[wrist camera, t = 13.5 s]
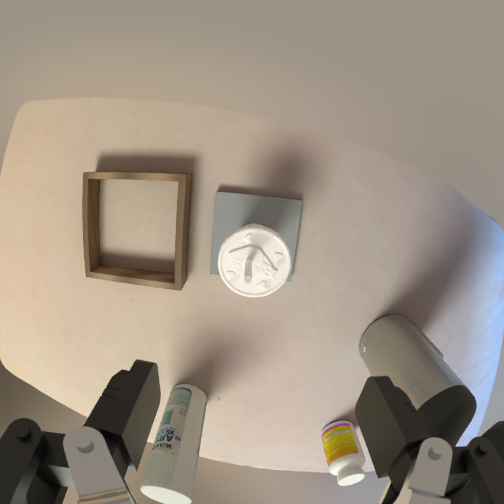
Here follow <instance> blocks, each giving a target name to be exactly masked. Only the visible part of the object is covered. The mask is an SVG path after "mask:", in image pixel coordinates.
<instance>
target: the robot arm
mask: <svg viewBox="0 0 504 504" xmlns="http://www.w3.org/2000/svg"><path fill="white" fill-rule="evenodd" d="M359 351H360V355H361V357H362V358H363V360H364V362H365V364H366V366H367V368H368V370H369V372H370V373H371V375H372V377H369V378H368V379H367V381H366V383H365V386H364V388H363V390H362V392H361V395H360V397H359V399H358V401H357V404H356V408H355V414H356V418H357V421H358V424H359V426H360V429H361V432H362V434H363V437H364V440H365V443H366V445H367V448H368V451H369V454H370V457H371V459H372V462H373V465H374V468H375V471H376V474H377V476H378V478H382V477H386V476H389V477H390V481H389V482H388V484H387V486H386V488H385V490H384V492H383V494H382V497H381V499H380V501H379V503H378V504H504V421H499V422H498V423H496V424H495V425H493V426H492V427H491V428H490V429H489V430H488V431H486V432H485V433H484V434H483V435H482V436H481V437H475V438H473V439H472V440H471V441H470V443H469V444H468V445H467V446H465V447H455V446H456V444H457V442H458V440H459V439H460V437H461V436H462V434H463V433H464V431H465V430H466V428H467V427H468V425H469V424H470V422H471V420H472V419H473V416H474V414H475V411H476V406H477V405H476V400H475V397H474V396H473V394H472V393H471V392H470V391H469V389H468V388H467V387H466V386H465V385H464V383H463V382H462V381H461V380H460V379H459V377H458V376H457V375H456V374H455V373H454V372H453V371H452V369H451V368H450V367H449V366H448V365H447V364H446V362H445V361H444V360H443V354H442V353H441V352H440V350H439V349H438V348H437V347H436V346H435V345H434V344H433V343H432V342H431V341H430V340H429V338H428V337H427V336H426V335H425V334H424V333H423V332H422V331H421V330H420V329H419V328H418V327H417V326H416V325H415V324H414V323H410V322H409V321H408V320H407V319H406V318H405V317H403V316H401V315H394V314H392V315H387V316H384V317H382V318H380V319H378V320H377V321H375V322H374V323H373V324H371V325H370V326H369V327H368V329H367V330H366V331H365V333H364V334H363V336H362V338H361V340H360V345H359ZM160 397H161V392H160V384H159V375H158V367H157V364H156V363H154V362H148V361H143V360H138V359H137V360H136V361H135V362H134V364H133V366H132V367H131V369H130V371H127V370H123V369H122V370H121V371H119V372H118V373H117V374H115V375H114V376H112V378H111V380H110V381H109V383H108V385H107V388H105V390H104V391H103V393H102V396H100V398H99V400H98V402H97V403H96V405H95V407H94V408H93V410H92V412H91V414H90V415H89V417H88V419H87V421H86V423H85V424H84V425H83V426H82V427H76V428H73V429H71V430H70V431H69V432H67V434H60V433H52V432H45V431H41V429H40V427H39V426H38V424H37V423H36V422H34V421H33V420H31V419H27V418H21V419H17V420H15V421H13V422H12V423H11V424H10V425H9V426H8V428H7V429H6V431H5V433H4V434H3V436H2V437H1V439H0V504H62V503H63V500H64V497H65V494H66V492H67V489H68V487H72V488H76V490H77V493H78V496H79V501H78V502H77V503H78V504H137V502H136V500H135V498H134V497H133V495H132V493H131V491H130V489H129V487H128V485H127V483H126V481H125V479H124V477H125V474H126V471H127V469H129V470H132V471H136V472H137V469H138V466H139V463H140V460H141V457H142V454H143V451H144V448H145V445H146V442H147V439H148V436H149V433H150V430H151V427H152V425H153V422H154V419H155V416H156V413H157V410H158V407H159V404H160Z"/></svg>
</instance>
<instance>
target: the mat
mask: <svg viewBox="0 0 504 504" xmlns="http://www.w3.org/2000/svg"><path fill="white" fill-rule="evenodd" d="M301 207H302V200H297V199H288V198H280V197H271V196H262V195H253V194H243V193H232V192H220V191H217V192H216V198H215V210H214V223H213V237H212V251H211V267H210V274H218V275H220V273H219V269H218V256H219V251H220V248H221V245H222V244H223V242H224V241H225V239H226V238H227V237H228V236H229V235H230V234H231V233H232V232H233V231H235V230H237V229H239V228H241V227H244V226H245V225H247V224H251V223H257V224H260V225H262V226H265V227H268V228H271V229H272V230H274V231H275V232H277V233H278V234H280V236H281V237H282V238H283V239H284V240H285V241H286V243H287V246H288V248H289V250H290V255H291V269H290V273H289V275H288V277H287V279H286V281H291V276H292V270H293V263H294V257H295V250H296V243H297V236H298V229H299V222H300V214H301Z"/></svg>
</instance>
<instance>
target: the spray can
mask: <svg viewBox="0 0 504 504" xmlns="http://www.w3.org/2000/svg"><path fill="white" fill-rule="evenodd" d="M206 405H207V397H206V394H205V393H204V392H203V391H202V390H201V389H200V388H198V387H196V386H194V385H190V384H180V385H177V386H175V387H174V388H173V389H172V391H171V393H170V396H169V399H168V402H167V405H166V408H165V411H164V414H163V417H162V420H161V423H160V426H159V429H158V432H157V436H156V439H155V442H154V445H153V448H152V451H151V455H150V458H149V461H148V464H147V467H146V471H145V474H144V477H143V481H142V484H141V491H142V492H143V493H144V494H145V495H146V496H148V497H149V498H151V499H154V500H156V501H159V502H162V503H165V504H190V503H192V498H193V491H194V483H195V477H196V469H197V463H198V456H199V450H200V443H201V436H202V430H203V424H204V417H205V411H206Z"/></svg>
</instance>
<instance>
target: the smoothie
mask: <svg viewBox="0 0 504 504" xmlns="http://www.w3.org/2000/svg"><path fill="white" fill-rule="evenodd" d="M218 269H219V273H220V275H221V278H222V279H223V281H224V282H225V284H226V285H227V286H228V287H229V288H230V289H231V290H233V291H234V292H236V293H238V294H240V295H243V296H247V297H262V296H266V295H269V294H271V293H273V292H275V291H276V290H278V289H279V288H280V287H281V286H282V285H283V284H284V282H285V281H286V279H287V277H288V275H289V273H290V269H291V255H290V250H289V248H288V246H287V243H286V241H285V240H284V239H283V238H282V237H281V236H280V234H278V233H277V232H275V231H274V230H272V229H271V228H268V227H265V226H262V225H260V224H257V223H251V224H247V225H245V226H244V227H241V228H239V229H237V230H235V231H233V232H232V233H231V234H230V235H229V236H228V237H227V238H226V239H225V241H224V242H223V244H222V245H221V248H220V251H219V256H218Z"/></svg>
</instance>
